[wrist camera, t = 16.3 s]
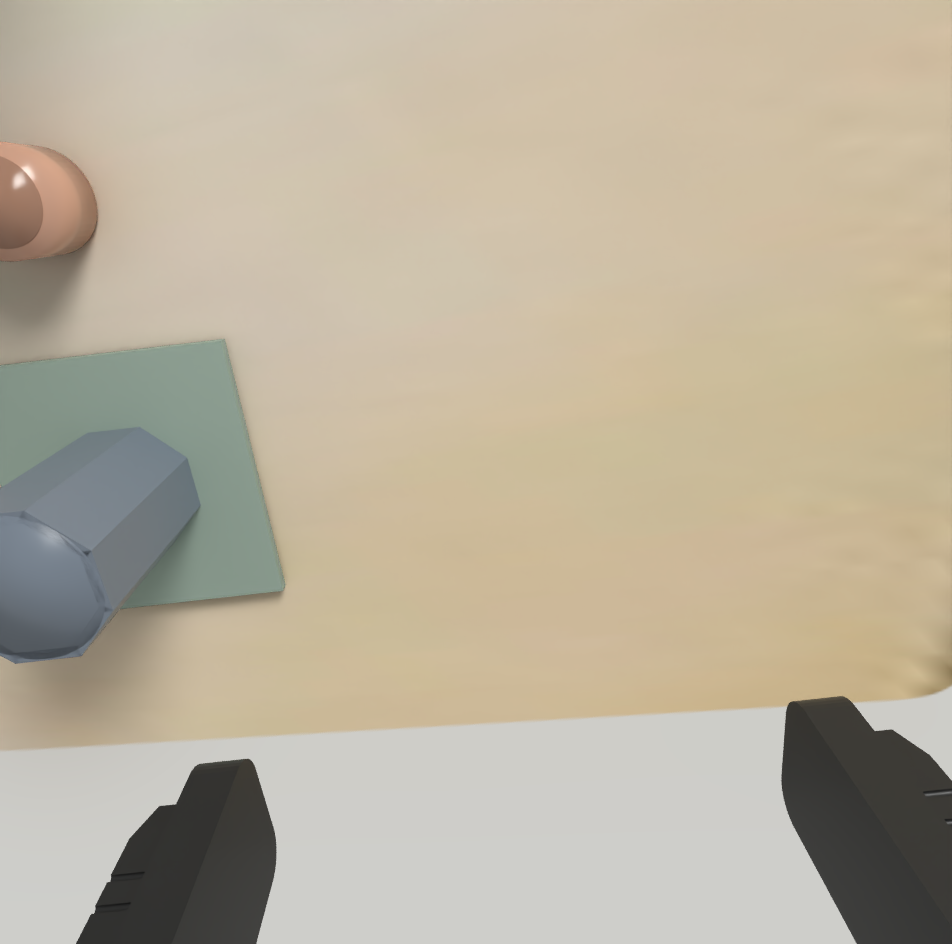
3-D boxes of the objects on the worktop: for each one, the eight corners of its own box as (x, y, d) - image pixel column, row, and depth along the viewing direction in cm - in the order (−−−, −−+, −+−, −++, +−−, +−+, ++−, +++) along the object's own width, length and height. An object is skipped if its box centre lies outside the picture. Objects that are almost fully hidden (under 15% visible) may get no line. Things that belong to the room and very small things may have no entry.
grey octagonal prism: (49, 437, 35) (-99, 524, 25) (177, 422, 35) (74, 504, 25) (90, 550, 37) (-31, 668, 28) (210, 537, 37) (127, 651, 28)
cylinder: (-25, 152, 30) (-84, 147, 27) (78, 139, 30) (31, 132, 27) (13, 260, 32) (-38, 267, 29) (110, 248, 32) (70, 254, 29)
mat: (-37, 369, 34) (-45, 372, 33) (224, 338, 34) (220, 341, 33) (59, 610, 39) (53, 616, 38) (285, 585, 39) (282, 590, 38)
